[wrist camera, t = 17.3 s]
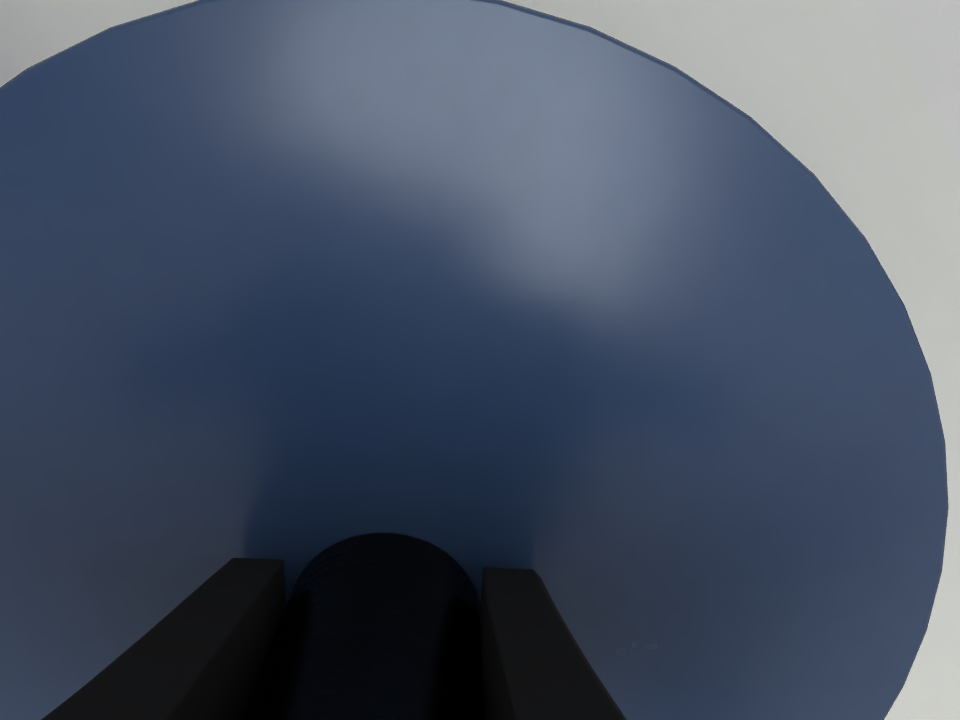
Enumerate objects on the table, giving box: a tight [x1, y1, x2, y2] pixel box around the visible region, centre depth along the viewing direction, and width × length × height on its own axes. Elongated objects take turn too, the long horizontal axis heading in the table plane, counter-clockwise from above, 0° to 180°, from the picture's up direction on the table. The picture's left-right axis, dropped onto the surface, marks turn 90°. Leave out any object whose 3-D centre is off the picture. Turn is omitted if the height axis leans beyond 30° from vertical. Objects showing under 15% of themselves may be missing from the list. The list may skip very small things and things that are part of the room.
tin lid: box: [0, 0, 948, 720], centre depth 7 cm, size 14×14×5 cm
